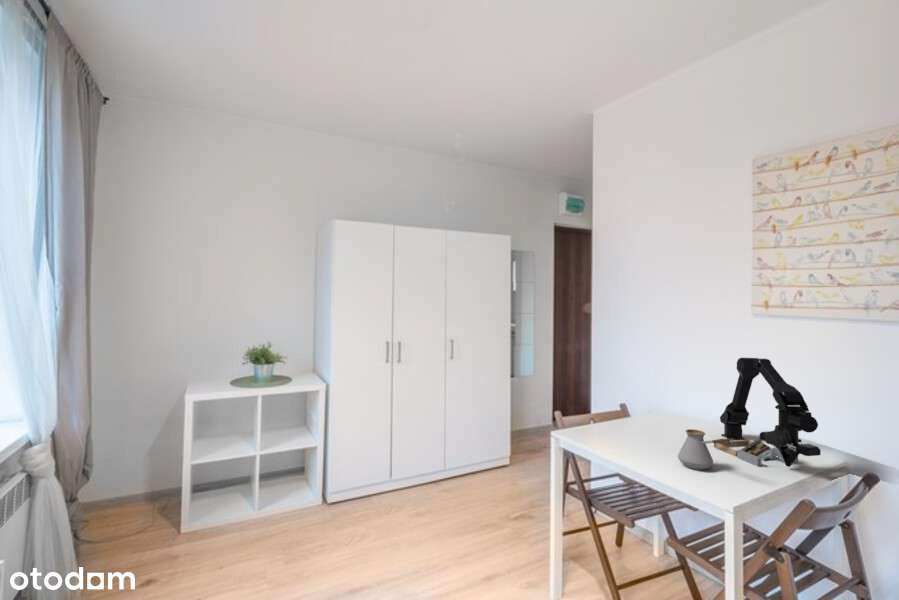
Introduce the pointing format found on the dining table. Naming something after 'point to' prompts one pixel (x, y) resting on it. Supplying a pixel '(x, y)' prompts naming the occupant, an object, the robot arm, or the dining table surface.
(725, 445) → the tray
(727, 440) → the coffee pot
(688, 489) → the dining table surface
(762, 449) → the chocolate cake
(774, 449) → the bay
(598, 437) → the dining table surface
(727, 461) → the dining table surface
